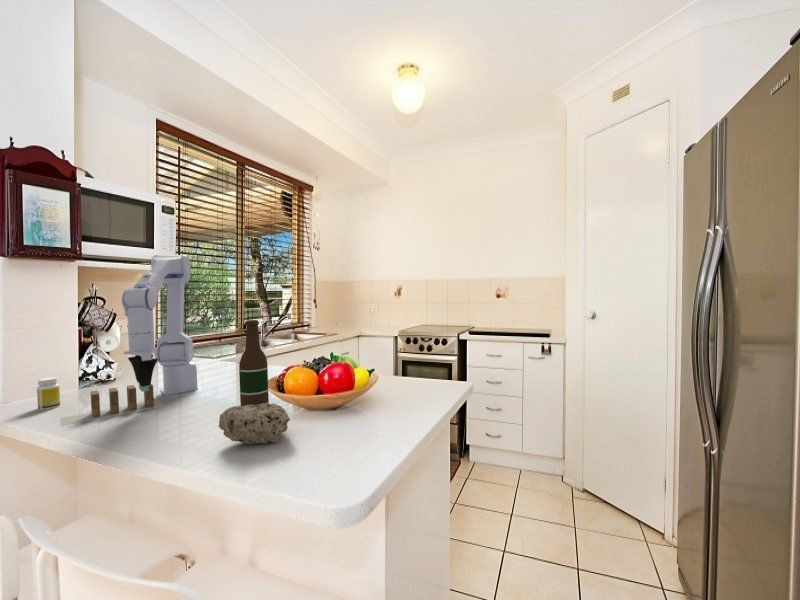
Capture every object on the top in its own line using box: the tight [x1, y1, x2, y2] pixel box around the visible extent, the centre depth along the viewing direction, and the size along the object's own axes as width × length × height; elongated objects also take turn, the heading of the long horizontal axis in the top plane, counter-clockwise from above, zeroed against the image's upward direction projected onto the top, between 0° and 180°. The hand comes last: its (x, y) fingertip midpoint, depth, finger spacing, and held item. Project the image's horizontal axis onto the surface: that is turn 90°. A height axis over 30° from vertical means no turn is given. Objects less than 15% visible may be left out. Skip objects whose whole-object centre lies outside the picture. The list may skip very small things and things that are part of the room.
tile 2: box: [126, 384, 138, 411], centre depth 109 cm, size 2×5×6 cm, turn 41°
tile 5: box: [138, 383, 149, 393], centre depth 105 cm, size 2×5×6 cm, turn 41°
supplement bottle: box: [36, 376, 61, 411], centre depth 112 cm, size 5×5×8 cm
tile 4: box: [89, 389, 101, 418], centre depth 104 cm, size 2×5×6 cm, turn 41°
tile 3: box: [108, 387, 120, 414], centre depth 106 cm, size 2×5×6 cm, turn 41°
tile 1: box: [143, 383, 155, 408], centre depth 112 cm, size 2×5×6 cm, turn 41°
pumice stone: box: [218, 402, 291, 445], centre depth 84 cm, size 14×12×8 cm
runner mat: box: [60, 399, 165, 427], centre depth 106 cm, size 22×8×1 cm, turn 131°
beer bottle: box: [238, 319, 270, 406], centre depth 108 cm, size 8×8×24 cm
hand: (143, 383), depth 105 cm, fingers closed on tile 5, 5 cm apart
